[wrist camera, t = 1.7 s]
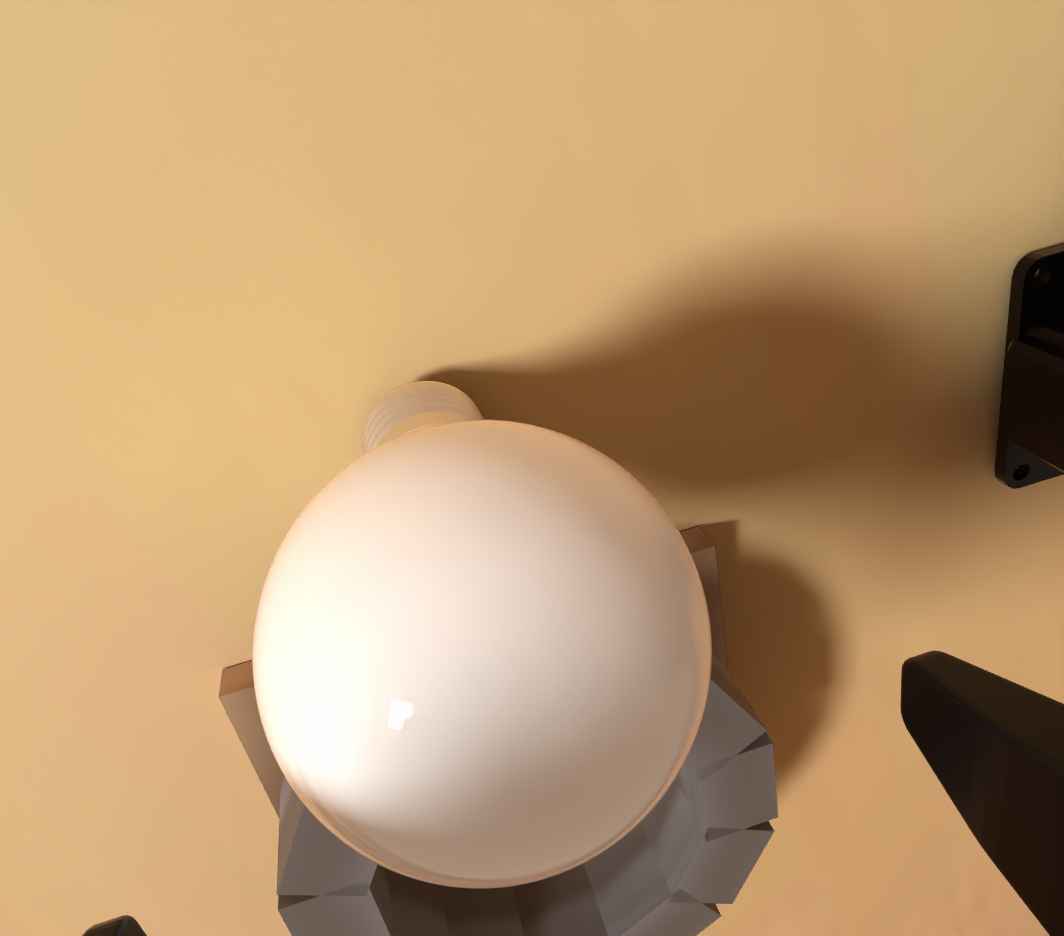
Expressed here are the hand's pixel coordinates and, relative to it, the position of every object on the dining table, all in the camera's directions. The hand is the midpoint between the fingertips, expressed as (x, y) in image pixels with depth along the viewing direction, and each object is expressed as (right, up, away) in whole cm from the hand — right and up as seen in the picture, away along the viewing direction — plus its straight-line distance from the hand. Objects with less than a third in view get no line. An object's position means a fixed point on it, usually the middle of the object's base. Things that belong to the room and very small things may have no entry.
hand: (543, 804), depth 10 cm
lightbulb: (-3, +5, +10) cm, 11 cm away
